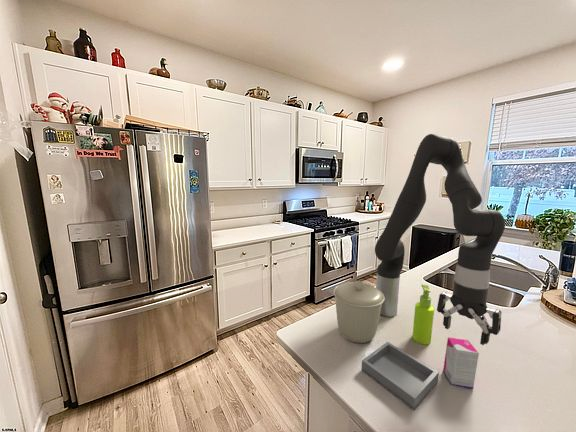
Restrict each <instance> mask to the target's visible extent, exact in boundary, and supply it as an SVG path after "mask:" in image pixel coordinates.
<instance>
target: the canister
mask: <svg viewBox="0 0 576 432" xmlns="http://www.w3.org/2000/svg"><path fill="white" fill-rule="evenodd" d="M332 293H333V295H334V298H335V309H336V311H335V312H336V321H337V327H338V331H339V333H340V334H341V335H342V336H343V338H345V339H346V340H348V341H350V342H353V343H356V344H357V343H358V344H360V343H361V344H363V343H364V344H365V343H368V342H370V341H372V340H373V339H374V337H375V335H376V333H377V329H378V325H379V320H380V316H381V315H380V311H381V306H382V303H383V302H384V300H385V297H384V295H383V293H382V292H381V291H379V290H378V289H376V286H373V285H371V284H368V283H364V282H363V281H360V280H356V281H348V282H343V283H341V284H337V286H335V287H334V288H333V292H332Z"/></svg>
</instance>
